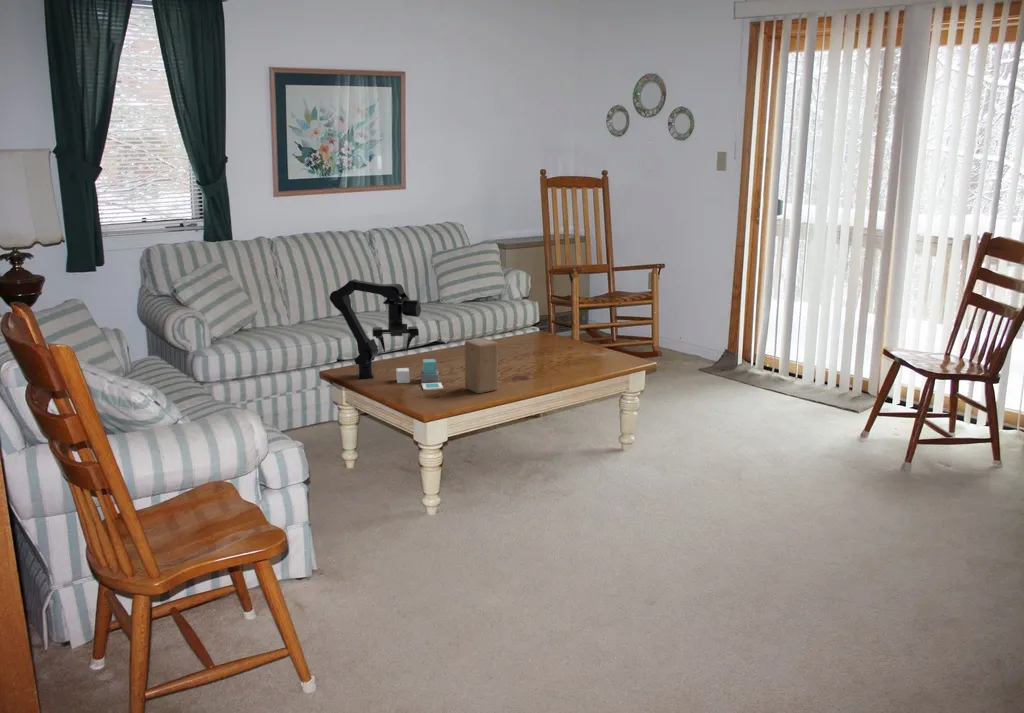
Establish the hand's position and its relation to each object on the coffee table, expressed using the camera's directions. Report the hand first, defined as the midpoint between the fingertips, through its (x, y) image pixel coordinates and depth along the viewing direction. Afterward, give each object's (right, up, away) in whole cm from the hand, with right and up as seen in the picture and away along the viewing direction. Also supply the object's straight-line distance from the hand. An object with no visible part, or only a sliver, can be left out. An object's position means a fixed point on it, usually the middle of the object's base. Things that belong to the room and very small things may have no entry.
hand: (395, 351), depth 374 cm
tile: (+16, -14, -9) cm, 23 cm away
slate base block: (+14, -13, 0) cm, 19 cm away
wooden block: (+36, -15, -12) cm, 41 cm away
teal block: (+14, -9, -1) cm, 17 cm away
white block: (+3, -12, 0) cm, 13 cm away
